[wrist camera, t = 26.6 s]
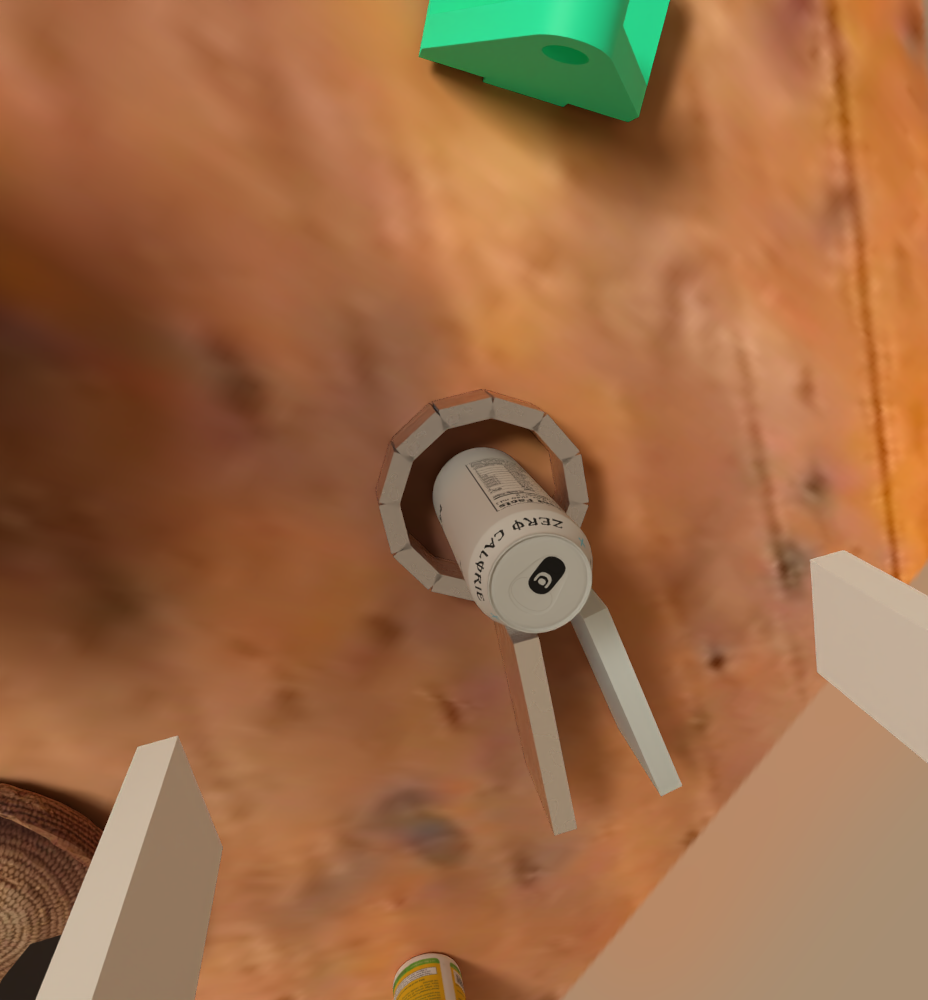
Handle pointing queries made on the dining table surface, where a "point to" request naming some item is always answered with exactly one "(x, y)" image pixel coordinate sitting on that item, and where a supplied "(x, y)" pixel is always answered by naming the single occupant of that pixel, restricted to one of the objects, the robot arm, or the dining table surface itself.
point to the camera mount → (552, 48)
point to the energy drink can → (512, 542)
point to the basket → (39, 868)
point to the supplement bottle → (429, 979)
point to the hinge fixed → (448, 579)
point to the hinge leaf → (624, 692)
